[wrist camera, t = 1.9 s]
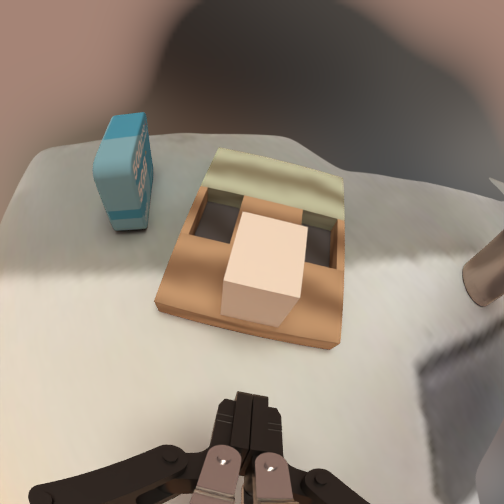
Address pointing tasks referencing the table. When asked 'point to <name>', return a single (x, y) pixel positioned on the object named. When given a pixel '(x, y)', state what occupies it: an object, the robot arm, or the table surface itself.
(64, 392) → the table surface
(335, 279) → the board
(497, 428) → the table surface
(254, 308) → the block
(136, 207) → the data package
